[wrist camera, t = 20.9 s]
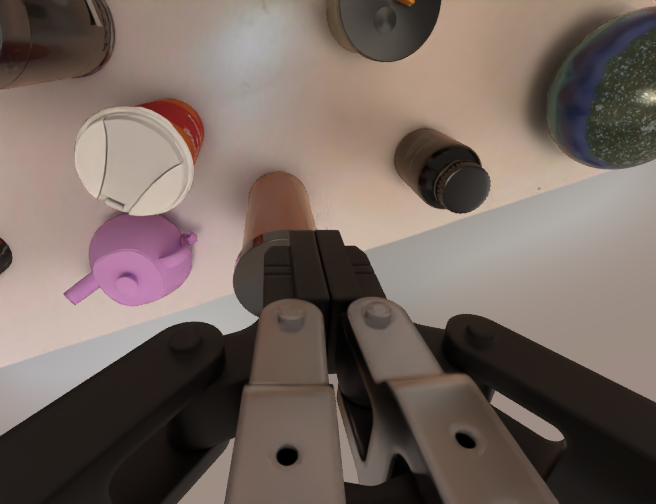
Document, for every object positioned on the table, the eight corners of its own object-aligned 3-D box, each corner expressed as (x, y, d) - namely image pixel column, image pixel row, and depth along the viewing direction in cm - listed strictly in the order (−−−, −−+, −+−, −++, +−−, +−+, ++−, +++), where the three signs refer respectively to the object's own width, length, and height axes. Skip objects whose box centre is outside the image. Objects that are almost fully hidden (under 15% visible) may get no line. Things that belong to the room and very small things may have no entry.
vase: (521, 38, 40) (620, 44, 29) (662, -15, 39) (821, -31, 28) (525, 168, 48) (603, 212, 37) (642, 126, 47) (759, 158, 36)
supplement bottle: (457, 161, 46) (512, 195, 36) (410, 194, 47) (450, 236, 37) (432, 114, 43) (484, 137, 32) (382, 151, 44) (418, 185, 34)
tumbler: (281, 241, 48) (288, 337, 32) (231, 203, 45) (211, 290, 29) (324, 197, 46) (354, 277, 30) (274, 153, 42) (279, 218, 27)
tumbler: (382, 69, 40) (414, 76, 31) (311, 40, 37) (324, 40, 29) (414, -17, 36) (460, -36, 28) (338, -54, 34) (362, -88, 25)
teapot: (220, 258, 48) (210, 301, 40) (114, 298, 49) (84, 349, 41) (177, 186, 43) (156, 219, 35) (59, 233, 43) (12, 276, 35)
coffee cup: (194, 179, 43) (162, 240, 30) (120, 139, 39) (49, 187, 26) (229, 116, 40) (211, 151, 27) (153, 67, 37) (91, 80, 24)
